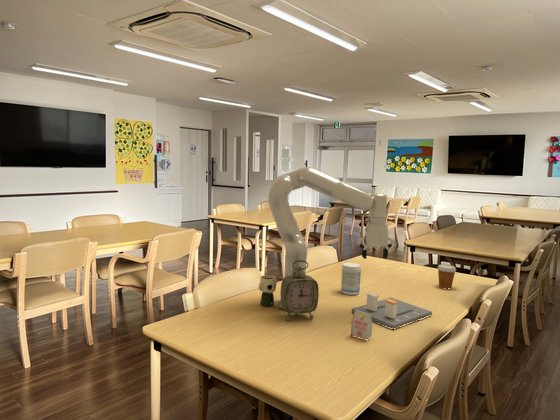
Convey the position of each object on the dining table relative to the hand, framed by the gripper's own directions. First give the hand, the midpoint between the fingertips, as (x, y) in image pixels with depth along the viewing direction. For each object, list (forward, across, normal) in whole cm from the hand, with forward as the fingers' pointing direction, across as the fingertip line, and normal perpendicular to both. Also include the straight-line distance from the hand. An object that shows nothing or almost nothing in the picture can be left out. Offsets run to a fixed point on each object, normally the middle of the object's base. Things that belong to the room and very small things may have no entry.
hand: (374, 258), depth 184 cm
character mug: (+24, -48, +6) cm, 53 cm away
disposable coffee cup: (+24, +54, +30) cm, 66 cm away
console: (+24, +6, -8) cm, 26 cm away
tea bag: (+24, -16, -30) cm, 41 cm away
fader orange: (+21, +2, -16) cm, 27 cm away
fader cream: (+21, -3, -7) cm, 23 cm away
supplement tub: (+24, -3, +23) cm, 33 cm away
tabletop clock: (+24, -36, -9) cm, 44 cm away
